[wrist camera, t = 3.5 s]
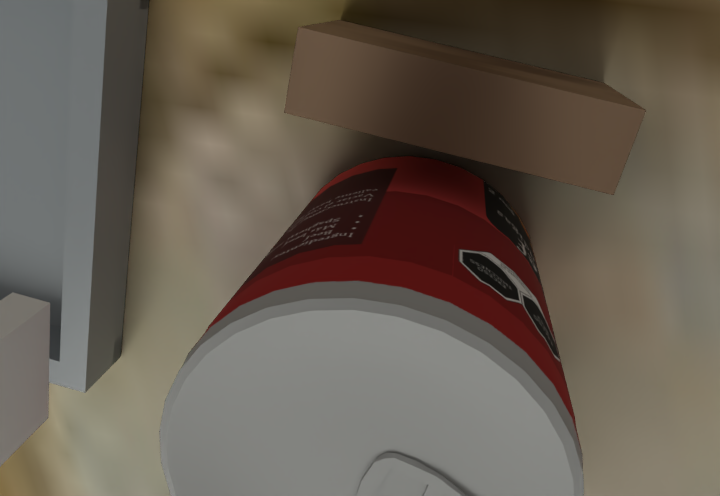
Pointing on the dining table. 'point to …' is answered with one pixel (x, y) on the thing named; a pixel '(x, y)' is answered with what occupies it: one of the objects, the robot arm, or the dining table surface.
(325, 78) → the tan block
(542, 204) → the dining table surface
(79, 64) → the tray
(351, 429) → the canned food
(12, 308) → the robot arm
